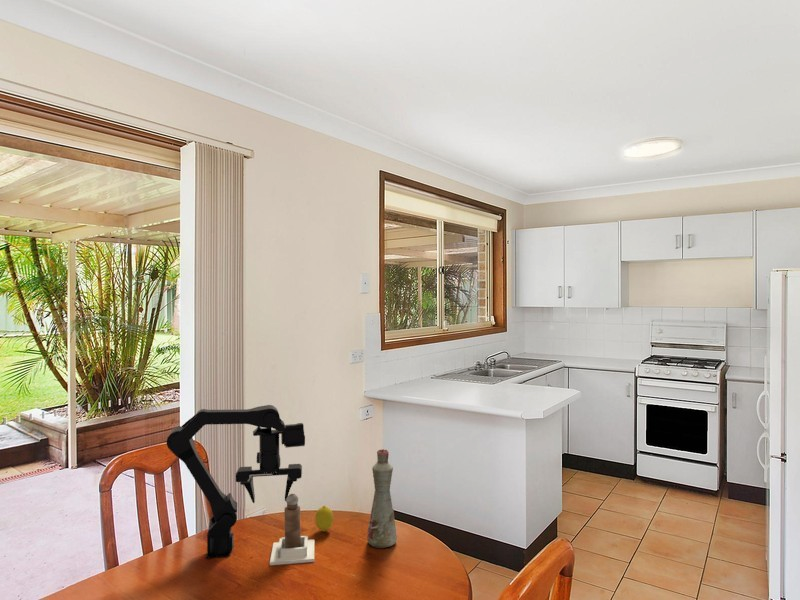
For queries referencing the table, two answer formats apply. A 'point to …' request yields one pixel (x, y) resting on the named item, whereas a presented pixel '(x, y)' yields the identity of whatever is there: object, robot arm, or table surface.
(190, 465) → the robot arm
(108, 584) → the table surface
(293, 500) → the pepper mill
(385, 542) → the bottle
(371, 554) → the table surface
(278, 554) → the mill stand
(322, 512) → the lemon
